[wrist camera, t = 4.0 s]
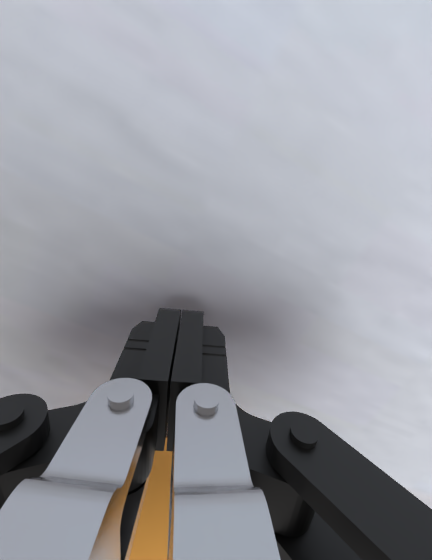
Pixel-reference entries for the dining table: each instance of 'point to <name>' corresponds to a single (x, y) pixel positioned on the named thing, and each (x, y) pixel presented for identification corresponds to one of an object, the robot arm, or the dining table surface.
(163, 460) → the ball
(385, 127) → the dining table surface
